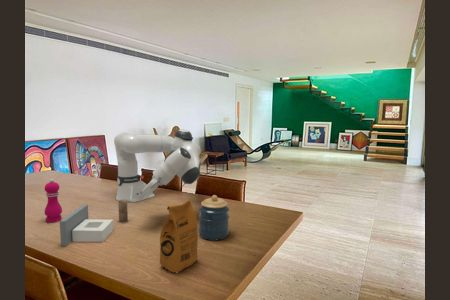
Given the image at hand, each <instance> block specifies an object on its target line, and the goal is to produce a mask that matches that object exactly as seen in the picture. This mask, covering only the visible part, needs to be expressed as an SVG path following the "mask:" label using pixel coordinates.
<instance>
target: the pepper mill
mask: <svg viewBox="0 0 450 300" xmlns="http://www.w3.org/2000/svg"><path fill="white" fill-rule="evenodd" d="M44 191H45V192H46V197H47V204H46V206H45V208H44V216H46V217H45V222H46V223H57V222H60V221H61V220H62V215H61V214H62V212H63V209H62V208H63V207H62V206H61V204H60V202H59V200H58V197H59V191H60V184H59V183H57V182H56V181H55V179H53V178H51V179H49V182H47V183H46V184H45V185H44Z"/></svg>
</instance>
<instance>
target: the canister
mask: <svg viewBox="0 0 450 300" xmlns="http://www.w3.org/2000/svg"><path fill="white" fill-rule="evenodd" d="M228 205H229V204H228V202H227V200H224V199H223V198H221V197H218V196H217V195H216V194H213V195H212V196H211V197H209V198H205V199H204V200H202V201H201V205H200V206H199V211H200V213H199V216H198V218H199V220H198V221H199V225H198V234H200V235H199V236H200V238H202V239H204V238H205V239H204V240H206V239H210V240H209V241H217V240H216V239H221V240H223V239H222V238H224V239H226V238H227V237H228V236H227V235H229V232H230V229H229V219H230V215H229V211H230V208H229V206H228ZM226 236H227V237H226ZM225 237H226V238H225Z"/></svg>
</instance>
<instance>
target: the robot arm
mask: <svg viewBox="0 0 450 300" xmlns="http://www.w3.org/2000/svg"><path fill="white" fill-rule="evenodd" d="M193 139H194V137H193V135H192V133H191V131H189V130H188V129H184V128H183V129H182V128H181V129H177V130H176V131H175V133H174V137H172V136H170V135H165V134H146V133H145V134H135V133H134V134H133V133H127V132H119V133H118V134H117V135H116V136H115V137H114V139H113V144H114V149H115V155H116V160H117V175H116V176H117V179H116V180H117V181H116V183H117V193H116V197H115V200H116V201H119V200H127V202H131V203H135V202H140V201H143V200H148V199H151V198H154V197H155V194H154V193H153V192H155V190H156V189H157V188H158V187H159V186H161V187H162V186H163V185H164V186H167V185H168V184H169V183H170V182H171V181H172V180H173V179H174V178H175V176H178V177H179V178H180V180H181V181H182V182H183V184H187V185H192V184H194V183H195V182H196V181H197V180H198V179H199V177H200V175H201V165H202V163H201V162H202V161H201V158H200V156H201V146H200V145H199V144H198V143H197V142H193ZM143 153H168V154H167V155H166V156H165V157H164V161H163V162H162V163H160V164H159V165H158V166H157V167H156V168H155V169H154V170H153V171H152V174H153V175H152V176H151V177H152V178H151V180H150V181H149V182H148V183H146V182H144V181H142V180H143V179H144V178H145V177H144V175H142V174H141V175H140V174H139V171H138V169H139V167H138V160H137V157H136V154H143ZM141 179H142V180H141Z"/></svg>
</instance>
